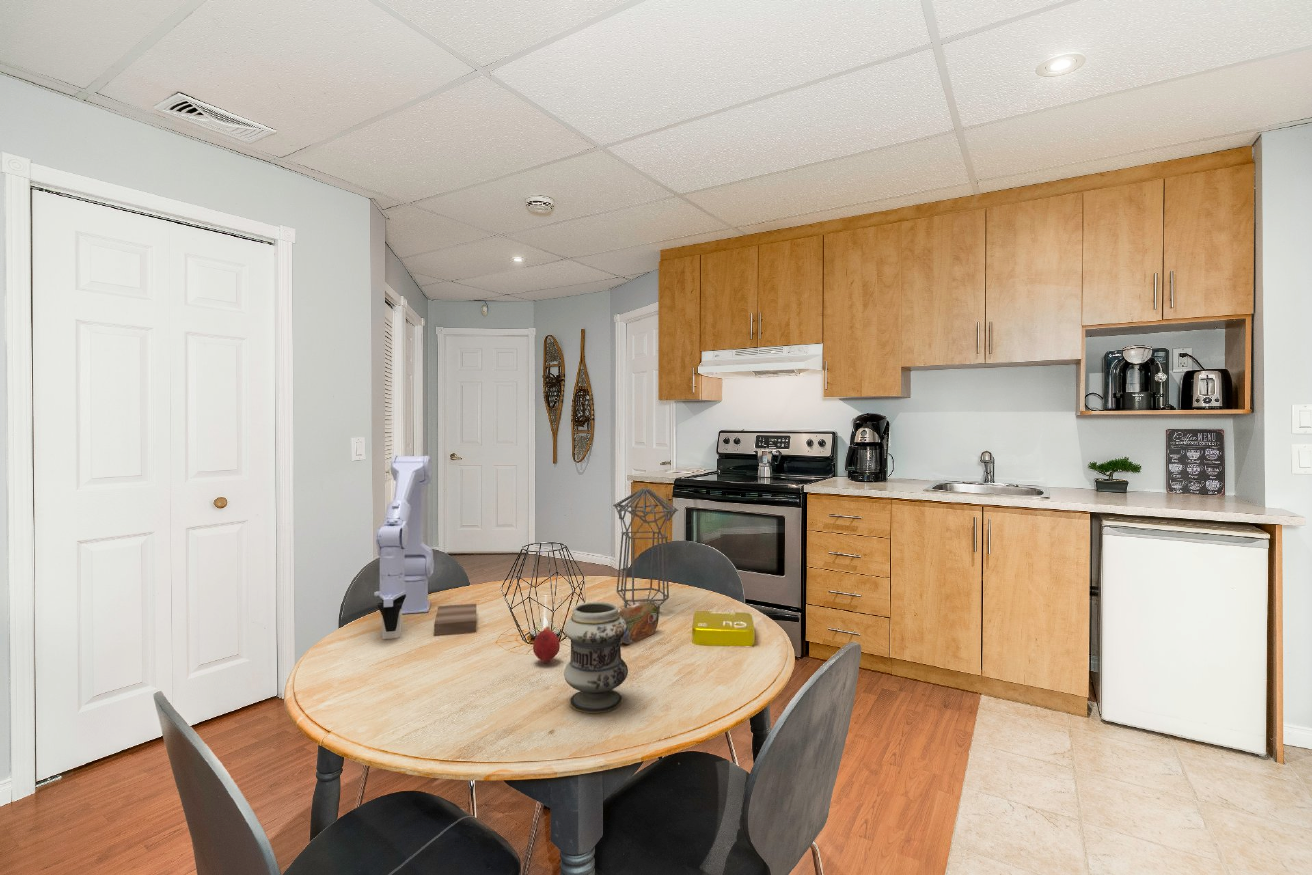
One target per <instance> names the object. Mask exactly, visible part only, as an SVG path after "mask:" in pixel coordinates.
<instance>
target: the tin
mask: <svg viewBox="0 0 1312 875" xmlns="http://www.w3.org/2000/svg"><path fill="white" fill-rule="evenodd" d="M656 606H657V605H656V604H655V603H653V602H652V601H651V602H650V601H649V602H636V603H635V605H634V604H633V605H631V606H629V605H628V606H627V608H624V607H623V608H622V609H620V610H618V613H619V616H621V617H622V618H623V619H624V620H625V622H626V624H627V631H626V633H625V635H624V636H623V637H622V638H621V643H622V644H626V645H633V644H635V643H638V642H640V641H642V640H644V639H647V638H648V637H651V636H652V635H653V634H654V633H655V632H656V630H657V628H658V625H659V619H660V618H659V615H660V614H659V613H660V612H659V613H658V609H657V607H656Z"/></svg>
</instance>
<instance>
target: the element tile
mask: <svg viewBox="0 0 1312 875" xmlns="http://www.w3.org/2000/svg"><path fill="white" fill-rule="evenodd" d="M754 624H755V623H754V619H753V614H751V613H750V612H742V611H741V612H739V611H738V612H737V611H710V610H709V611H708V610H696V611H695V612H694V613H693V619H692V626H691V642H692V644H693V645H696V646H704V647H705V646H707V647H708V646H709V647H710V646H711V647H729V646H752V647H754V646H755V645H754V644H755V642H756V641H755V639H756V638H755V634H756V633H755V632H756V631H755V625H754ZM753 645H754V646H753Z"/></svg>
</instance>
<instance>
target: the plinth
mask: <svg viewBox="0 0 1312 875" xmlns="http://www.w3.org/2000/svg"><path fill="white" fill-rule="evenodd" d="M475 632H476V633H477V603H465V604H449V605H439V606H437V611H436V615H435V619H434V622H433V637H436V636H437V637H439V636H440V635H441V636H449V635H450V636H451V635H462V634H463V633H465V634H474V633H475ZM476 633H475V634H476Z"/></svg>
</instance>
